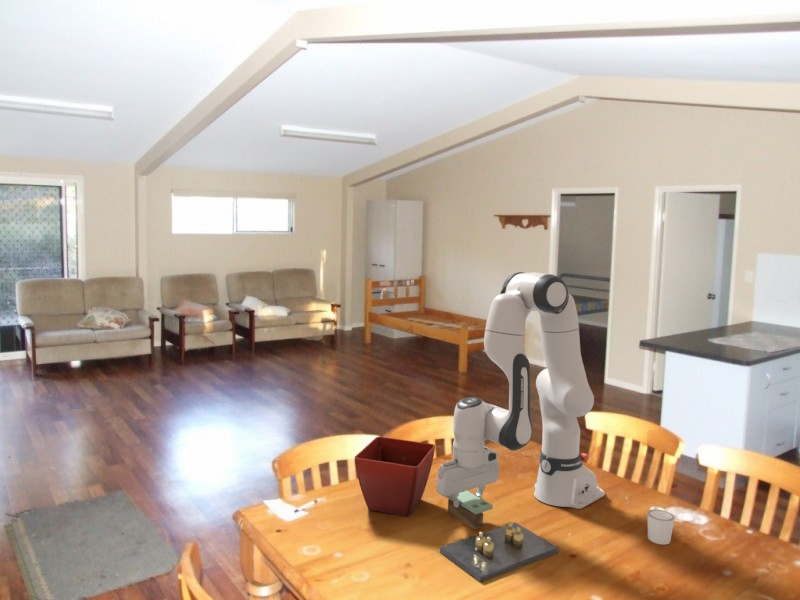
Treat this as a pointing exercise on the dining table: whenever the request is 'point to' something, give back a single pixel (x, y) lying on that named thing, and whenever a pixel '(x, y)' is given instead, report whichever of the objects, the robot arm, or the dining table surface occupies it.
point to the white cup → (660, 526)
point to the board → (473, 502)
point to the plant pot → (394, 474)
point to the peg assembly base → (498, 551)
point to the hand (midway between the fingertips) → (467, 503)
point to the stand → (465, 515)
